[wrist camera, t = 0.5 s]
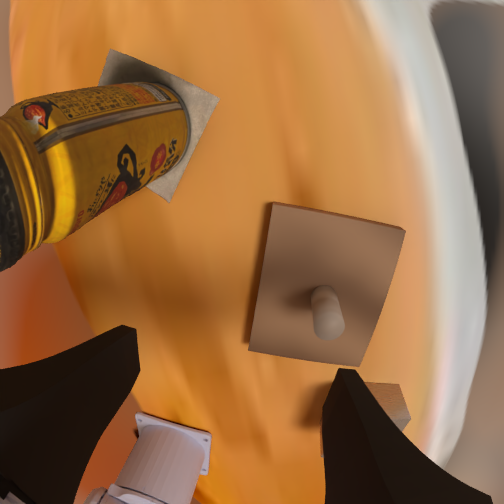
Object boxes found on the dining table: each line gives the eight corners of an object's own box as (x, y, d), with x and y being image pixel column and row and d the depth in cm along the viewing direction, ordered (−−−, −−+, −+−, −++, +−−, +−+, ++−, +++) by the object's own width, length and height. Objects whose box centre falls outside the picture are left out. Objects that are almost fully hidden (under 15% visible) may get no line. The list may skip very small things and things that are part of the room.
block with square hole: (374, 425, 22) (381, 458, 18) (319, 422, 22) (320, 457, 19) (399, 384, 20) (411, 418, 16) (339, 379, 21) (344, 417, 17)
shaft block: (356, 358, 20) (367, 400, 16) (250, 342, 21) (239, 384, 16) (400, 226, 17) (429, 248, 12) (274, 201, 17) (267, 216, 13)
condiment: (171, 201, 18) (27, 326, 8) (82, 143, 18) (-61, 213, 8) (221, 98, 14) (16, 143, 4) (113, 48, 14) (-64, 69, 4)
